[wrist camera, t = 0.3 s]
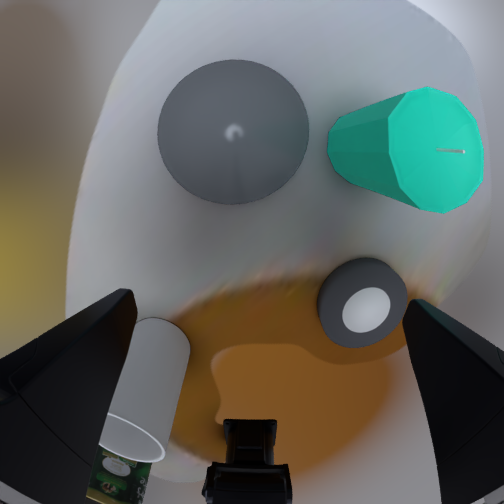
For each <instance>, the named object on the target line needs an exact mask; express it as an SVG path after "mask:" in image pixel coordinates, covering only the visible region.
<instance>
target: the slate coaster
mask: <svg viewBox="0 0 504 504" xmlns="http://www.w3.org/2000/svg"><path fill="white" fill-rule="evenodd" d="M157 135H158V145H159V150H160V154H161V156H162V159H163V162H164V164H165V166H166V167H167V169H168V171H169V172H170V174H171V175H172V176H173V178H174V179H175V180H176V181H177V182H178V183H179V184H180V185H181V186H182V187H184V188H185V189H186V190H187V191H189V192H191V193H192V194H194V195H196V196H198V197H200V198H202V199H205V200H208V201H211V202H215V203H221V204H242V203H247V202H252V201H255V200H258V199H261V198H263V197H265V196H268V195H270V194H271V193H273V192H274V191H276V190H278V189H279V188H280V187H281V186H283V185H284V184H285V183H286V182H287V181H288V180H289V179H290V178H291V177H292V176H293V174H294V173H295V171H296V170H297V169H298V167H299V165H300V163H301V161H302V160H303V157H304V154H305V152H306V148H307V144H308V137H309V124H308V117H307V113H306V109H305V107H304V104H303V102H302V100H301V98H300V96H299V94H298V93H297V91H296V90H295V89H294V87H293V86H292V85H291V84H290V83H289V82H288V81H287V80H286V79H285V78H284V77H283V76H282V75H280V74H279V73H278V72H276V71H274V70H272V69H271V68H269V67H266V66H264V65H262V64H259V63H255V62H252V61H245V60H224V61H218V62H214V63H211V64H208V65H205V66H203V67H201V68H199V69H197V70H195V71H193V72H192V73H190V74H189V75H187V76H186V77H185V78H184V79H182V80H181V81H180V82H179V83H178V84H177V85H176V87H175V88H174V89H173V90H172V91H171V93H170V94H169V96H168V98H167V99H166V101H165V103H164V105H163V108H162V111H161V114H160V117H159V122H158V134H157Z"/></svg>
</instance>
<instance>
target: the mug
mask: <svg viewBox="0 0 504 504" xmlns="http://www.w3.org/2000/svg"><path fill="white" fill-rule="evenodd" d="M189 355H190V344H189V341H188V339H187V337H186V336H185V334H184V333H183V332H182V331H181V330H180V329H179V328H178V327H177V326H175V325H174V324H172V323H170V322H168V321H165V320H162V319H158V318H147V319H144V320H141V321H139V322H138V323H137V324H136V325H135V327H134V331H133V335H132V339H131V343H130V347H129V351H128V355H127V358H126V361H125V364H124V367H123V369H122V372H121V375H120V378H119V381H118V384H117V386H116V389H115V392H114V395H113V398H112V402H111V405H110V408H109V411H108V414H107V417H106V421H105V424H104V427H103V431H102V434H101V438H100V441H99V445H101V446H102V447H104V448H105V449H107V450H109V451H111V452H113V453H115V454H117V455H119V456H122V457H124V458H127V459H131V460H135V461H140V462H157V461H160V460H162V459H163V458H164V457H165V451H166V448H167V444H168V441H169V437H170V432H171V428H172V424H173V420H174V416H175V411H176V407H177V403H178V399H179V395H180V391H181V387H182V383H183V380H184V376H185V372H186V368H187V364H188V360H189Z"/></svg>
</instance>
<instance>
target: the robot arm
mask: <svg viewBox="0 0 504 504" xmlns="http://www.w3.org/2000/svg"><path fill="white" fill-rule="evenodd" d="M137 315H138V311H137V306H136V302H135V298H134V294H133V291H132V290H130V289H122V288H120V289H118V290H116V291H114V292H113V293H111V294H109V295H107V296H106V297H104V298H102V299H100V300H99V301H97V302H95V303H94V304H92V305H90V306H88V307H87V308H85V309H83V310H82V311H80V312H78V313H77V314H75V315H73V316H72V317H70V318H68V319H67V320H65V321H63V322H62V323H60V324H58V325H57V326H55V327H53V328H52V329H50V330H48V331H47V332H45V333H43V334H42V335H40V336H39V337H38V338H36V339H34V340H32V341H31V342H29V343H27V344H26V345H24V346H22V347H21V348H19V349H17V350H16V351H14V352H12V353H10V354H8V355H6V356H5V357H3V358H1V359H0V504H85V499H86V494H87V490H88V485H89V481H90V477H91V472H92V467H93V464H94V460H95V456H96V452H97V448H98V445H99V441H100V438H101V434H102V431H103V427H104V424H105V421H106V417H107V414H108V411H109V408H110V405H111V402H112V398H113V395H114V392H115V389H116V386H117V384H118V381H119V378H120V375H121V372H122V369H123V367H124V364H125V361H126V358H127V355H128V351H129V347H130V343H131V339H132V335H133V331H134V327H135V324H136V320H137ZM402 325H403V329H404V333H405V337H406V342H407V346H408V350H409V355H410V359H411V363H412V366H413V370H414V373H415V376H416V379H417V383H418V386H419V390H420V393H421V397H422V401H423V405H424V408H425V412H426V416H427V420H428V424H429V428H430V433H431V438H432V443H433V447H434V453H435V458H436V464H437V470H438V477H439V485H440V493H441V502H442V504H471V503H473V502H475V501H477V500H479V499H481V498H483V497H484V500H485V503H483V504H504V351H502V350H501V349H499V348H498V347H496V346H495V345H493V344H492V343H490V342H489V341H487V340H486V339H485V338H483V337H482V336H480V335H478V334H477V333H475V332H474V331H472V330H471V329H469V328H468V327H466V326H464V325H463V324H462V323H460V322H458V321H457V320H455V319H454V318H452V317H450V316H449V315H447V314H446V313H444V312H442V311H441V310H439V309H438V308H436V307H434V306H433V305H431V304H430V303H428V302H426V301H425V300H423V299H412V300H411V301H410V302H409V304H408V307H407V309H406V312H405V314H404V317H403V320H402ZM223 425H224V432H225V438H226V444H227V451H226V462H225V463H217V462H212V465H211V466H209V467H208V468H207V475H206V480H205V483H204V486H203V489H202V495H203V496H204V497H205V498H206V502H207V504H292V485H291V479H290V473H289V468H288V464H283V465H274V452H273V446H274V445H275V439H276V430H277V420H273V419H268V420H246V419H225V420H224V421H223Z"/></svg>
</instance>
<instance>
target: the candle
mask: <svg viewBox="0 0 504 504" xmlns="http://www.w3.org/2000/svg"><path fill="white" fill-rule="evenodd" d="M327 153H328V156H329V158H330V160H331V163H332V165H333V167H334V170H335V171H336V172H337V173H338V174H340V175H341V176H342V177H343V178H345V179H346V180H347V181H348V182H350V183H352V184H355V185H358V186H360V187H363V188H366V189H369V190H372V191H375V192H377V193H380V194H383V195H385V196H388V197H391V198H393V199H396V200H398V201H401V202H403V203H406V204H408V205H411V206H413V207H416V208H418V209H420V210H426V211H432V212H437V213H443V214H444V213H446V212H448V211H451V210H453V209H455V208H457V207H459V206H461V205H463V204H465V203H467V202H468V200H469V199H470V198H471V196H472V195H473V194H474V192H475V191H476V189H477V188H478V187H479V185H480V184H481V182H482V181H483V167H484V149H483V145H482V141H481V137H480V133H479V129H478V126H477V122H476V119H475V118H474V117H473V116H472V114H471V113H470V112H469V111H468V109H467V108H466V107H465V106H464V105H463V104H462V102H461V101H460V100H459V99H458V98H457V97H456V96H454V95H451V94H449V93H446V92H443V91H440V90H437V89H434V88H430V87H424V88H420V89H417V90H413V91H409V92H406V93H403V94H400V95H397V96H394V97H391V98H389V99H386V100H383V101H380V102H378V103H375V104H372V105H370V106H367V107H364V108H362V109H359V110H357V111H354V112H352V113H349V114H347V115H344V116H342V117H339V119H338V120H337V122H336V123H335V124H334V126H333V127H332V128H331V130H330V131H329V134H328V146H327Z"/></svg>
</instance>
